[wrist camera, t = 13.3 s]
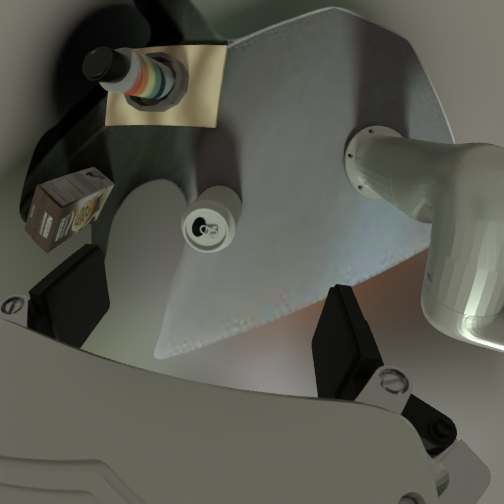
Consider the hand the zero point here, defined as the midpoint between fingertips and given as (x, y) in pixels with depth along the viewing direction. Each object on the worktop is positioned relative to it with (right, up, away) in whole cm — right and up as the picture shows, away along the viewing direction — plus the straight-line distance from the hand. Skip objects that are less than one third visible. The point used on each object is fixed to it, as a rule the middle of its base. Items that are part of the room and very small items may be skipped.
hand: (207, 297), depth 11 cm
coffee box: (-28, +13, +36) cm, 48 cm away
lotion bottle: (-12, +28, +26) cm, 41 cm away
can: (-4, +9, +36) cm, 37 cm away
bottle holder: (-13, +29, +27) cm, 42 cm away
